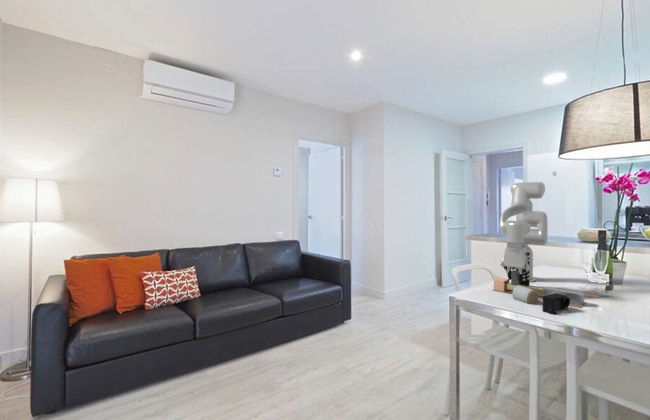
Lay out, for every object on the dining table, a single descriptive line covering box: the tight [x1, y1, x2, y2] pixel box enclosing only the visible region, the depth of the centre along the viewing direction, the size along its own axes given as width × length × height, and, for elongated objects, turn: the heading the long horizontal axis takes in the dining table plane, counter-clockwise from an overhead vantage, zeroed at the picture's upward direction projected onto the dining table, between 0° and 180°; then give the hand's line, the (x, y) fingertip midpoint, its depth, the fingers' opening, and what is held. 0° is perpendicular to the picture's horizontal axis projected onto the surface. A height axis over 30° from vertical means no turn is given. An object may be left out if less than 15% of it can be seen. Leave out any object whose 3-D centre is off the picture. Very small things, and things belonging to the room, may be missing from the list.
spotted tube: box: [511, 252, 530, 286], centre depth 171 cm, size 8×8×20 cm
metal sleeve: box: [543, 286, 585, 307], centre depth 144 cm, size 5×15×5 cm, turn 40°
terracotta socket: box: [493, 276, 510, 292], centre depth 165 cm, size 8×5×6 cm, turn 130°
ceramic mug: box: [511, 285, 540, 305], centre depth 146 cm, size 11×8×8 cm
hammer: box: [505, 270, 543, 296], centre depth 156 cm, size 4×22×10 cm, turn 40°
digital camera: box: [542, 293, 570, 315], centre depth 133 cm, size 10×5×7 cm, turn 114°
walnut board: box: [491, 289, 587, 309], centre depth 153 cm, size 12×37×1 cm, turn 40°
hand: (515, 280), depth 160 cm, fingers open, 3 cm apart
